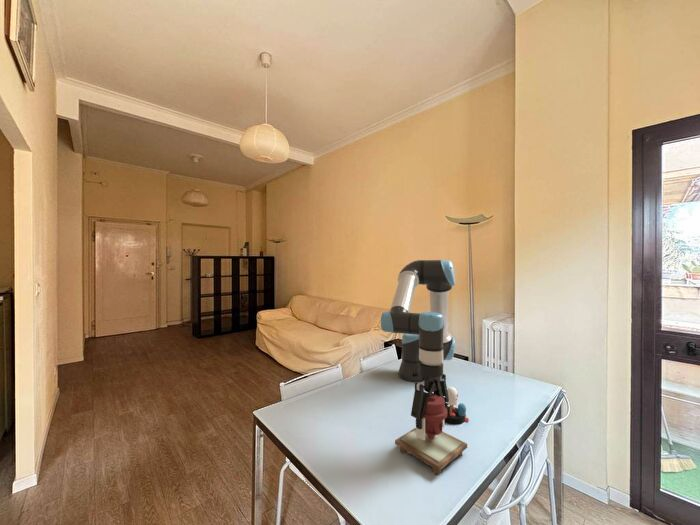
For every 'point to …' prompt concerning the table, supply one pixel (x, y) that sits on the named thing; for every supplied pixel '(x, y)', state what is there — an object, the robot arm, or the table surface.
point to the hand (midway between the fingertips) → (430, 431)
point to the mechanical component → (434, 415)
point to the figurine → (455, 409)
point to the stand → (432, 448)
